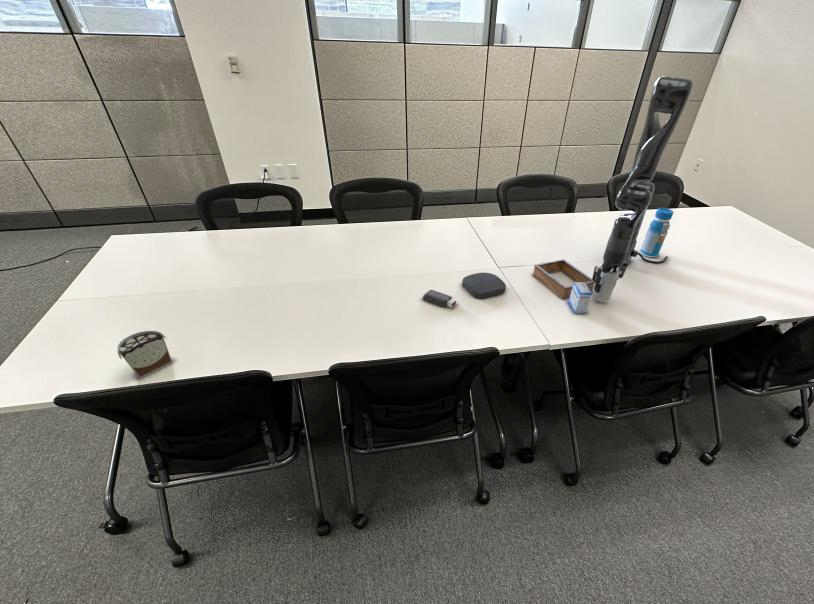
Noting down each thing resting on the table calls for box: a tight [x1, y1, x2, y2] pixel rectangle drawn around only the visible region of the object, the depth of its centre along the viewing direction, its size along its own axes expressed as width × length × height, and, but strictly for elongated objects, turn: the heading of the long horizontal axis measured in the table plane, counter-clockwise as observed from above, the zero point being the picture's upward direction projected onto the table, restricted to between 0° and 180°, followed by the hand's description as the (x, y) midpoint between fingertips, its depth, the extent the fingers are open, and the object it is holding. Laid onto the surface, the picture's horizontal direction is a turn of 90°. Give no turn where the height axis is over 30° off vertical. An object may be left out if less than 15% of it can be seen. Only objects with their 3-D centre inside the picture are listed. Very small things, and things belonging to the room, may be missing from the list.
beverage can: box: [592, 271, 618, 303], centre depth 156 cm, size 6×6×12 cm
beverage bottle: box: [639, 207, 674, 258], centre depth 187 cm, size 8×8×20 cm
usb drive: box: [422, 289, 457, 309], centre depth 155 cm, size 5×12×3 cm, turn 59°
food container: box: [116, 330, 173, 379], centre depth 119 cm, size 12×6×10 cm, turn 145°
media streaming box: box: [461, 272, 507, 299], centre depth 163 cm, size 15×15×3 cm
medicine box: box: [568, 281, 593, 314], centre depth 153 cm, size 8×4×9 cm, turn 6°
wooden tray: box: [532, 258, 595, 300], centre depth 168 cm, size 15×21×5 cm
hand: (603, 289), depth 157 cm, fingers closed on beverage can, 6 cm apart
